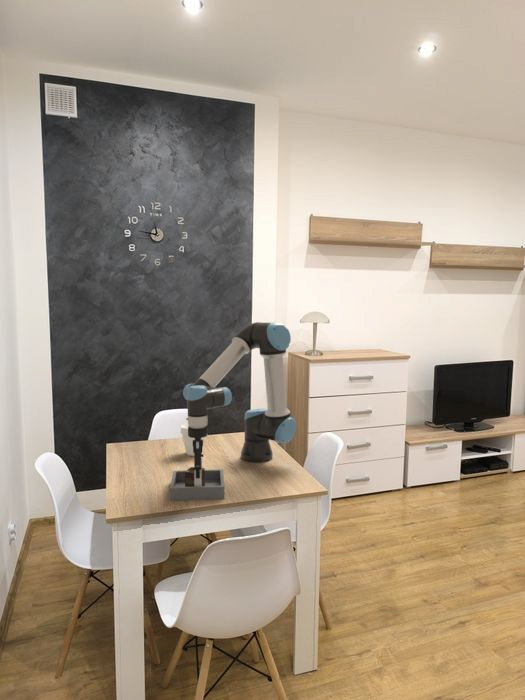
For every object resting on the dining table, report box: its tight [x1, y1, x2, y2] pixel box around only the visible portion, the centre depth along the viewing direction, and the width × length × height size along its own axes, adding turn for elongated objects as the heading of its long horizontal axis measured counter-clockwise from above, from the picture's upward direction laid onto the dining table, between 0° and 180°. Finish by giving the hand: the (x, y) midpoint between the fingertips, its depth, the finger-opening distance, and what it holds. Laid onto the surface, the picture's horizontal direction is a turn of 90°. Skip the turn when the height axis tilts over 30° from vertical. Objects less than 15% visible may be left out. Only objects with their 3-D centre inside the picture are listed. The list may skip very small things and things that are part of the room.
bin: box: [169, 468, 225, 502], centre depth 192 cm, size 20×20×5 cm
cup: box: [180, 423, 205, 457], centre depth 239 cm, size 12×12×14 cm
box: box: [185, 466, 206, 487], centre depth 192 cm, size 6×6×7 cm
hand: (198, 479), depth 192 cm, fingers open, 13 cm apart
